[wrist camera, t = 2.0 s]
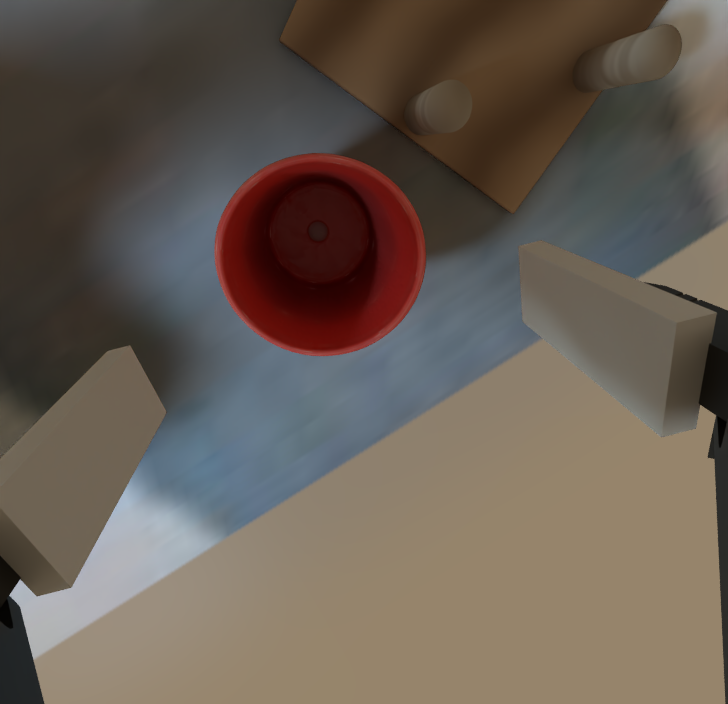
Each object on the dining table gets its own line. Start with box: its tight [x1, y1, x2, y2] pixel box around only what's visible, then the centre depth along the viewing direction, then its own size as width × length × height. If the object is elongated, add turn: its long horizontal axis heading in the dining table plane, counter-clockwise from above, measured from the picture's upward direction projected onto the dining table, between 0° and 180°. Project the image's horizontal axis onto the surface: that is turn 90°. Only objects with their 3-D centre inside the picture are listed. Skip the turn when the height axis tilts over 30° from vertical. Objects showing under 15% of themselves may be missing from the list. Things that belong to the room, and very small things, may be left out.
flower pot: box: [215, 153, 426, 356], centre depth 26 cm, size 11×11×10 cm
